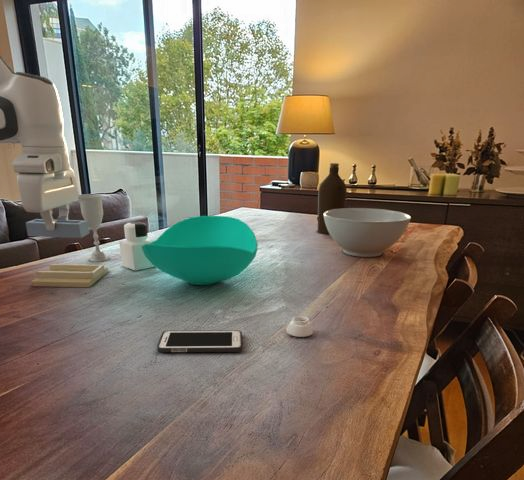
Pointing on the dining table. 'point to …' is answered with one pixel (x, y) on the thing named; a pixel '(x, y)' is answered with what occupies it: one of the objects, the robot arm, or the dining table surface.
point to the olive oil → (330, 195)
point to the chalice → (93, 220)
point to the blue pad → (58, 228)
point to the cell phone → (200, 341)
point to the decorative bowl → (365, 229)
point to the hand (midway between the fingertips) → (57, 227)
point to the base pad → (70, 275)
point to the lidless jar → (299, 327)
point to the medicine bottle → (135, 246)
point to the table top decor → (203, 249)
